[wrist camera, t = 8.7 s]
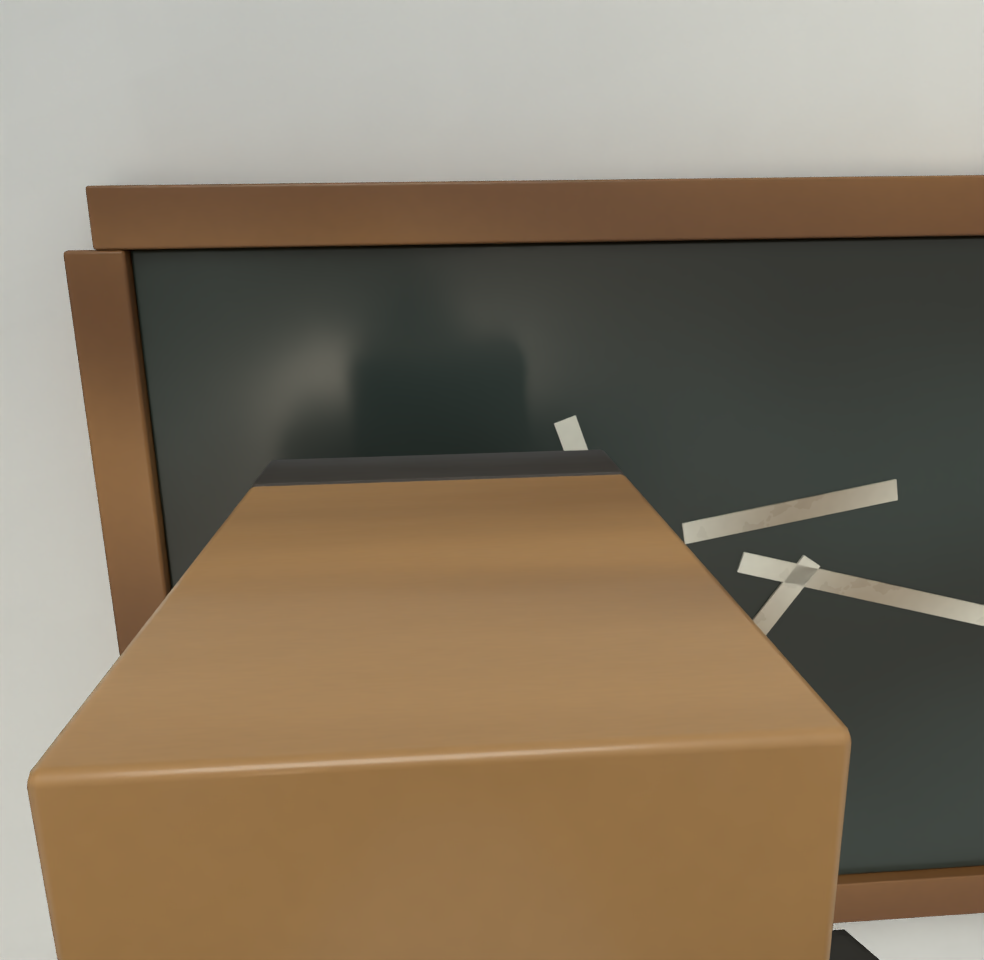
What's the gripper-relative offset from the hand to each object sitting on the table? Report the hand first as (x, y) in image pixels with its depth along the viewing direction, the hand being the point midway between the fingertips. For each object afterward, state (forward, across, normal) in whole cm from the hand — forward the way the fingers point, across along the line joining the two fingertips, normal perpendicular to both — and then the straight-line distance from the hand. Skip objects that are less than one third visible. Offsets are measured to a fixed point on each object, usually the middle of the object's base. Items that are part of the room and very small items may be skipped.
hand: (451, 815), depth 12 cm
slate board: (+9, +7, 0) cm, 11 cm away
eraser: (+2, 0, 0) cm, 2 cm away
